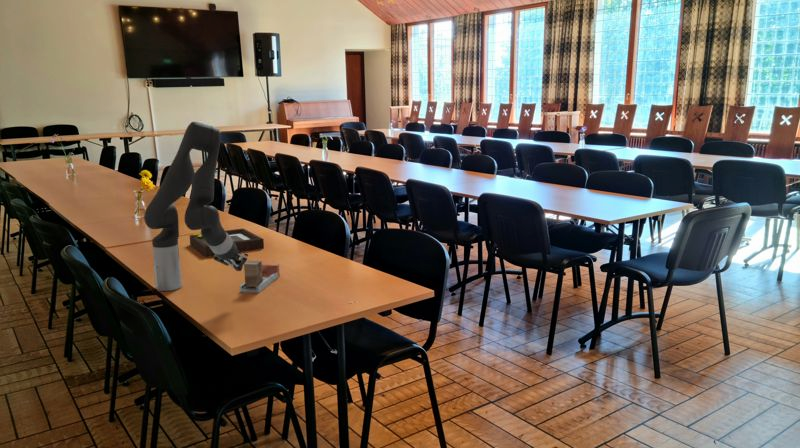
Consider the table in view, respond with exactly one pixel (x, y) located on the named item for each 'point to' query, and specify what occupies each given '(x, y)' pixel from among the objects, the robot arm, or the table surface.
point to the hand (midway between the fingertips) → (239, 268)
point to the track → (268, 274)
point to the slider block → (253, 273)
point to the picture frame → (239, 237)
